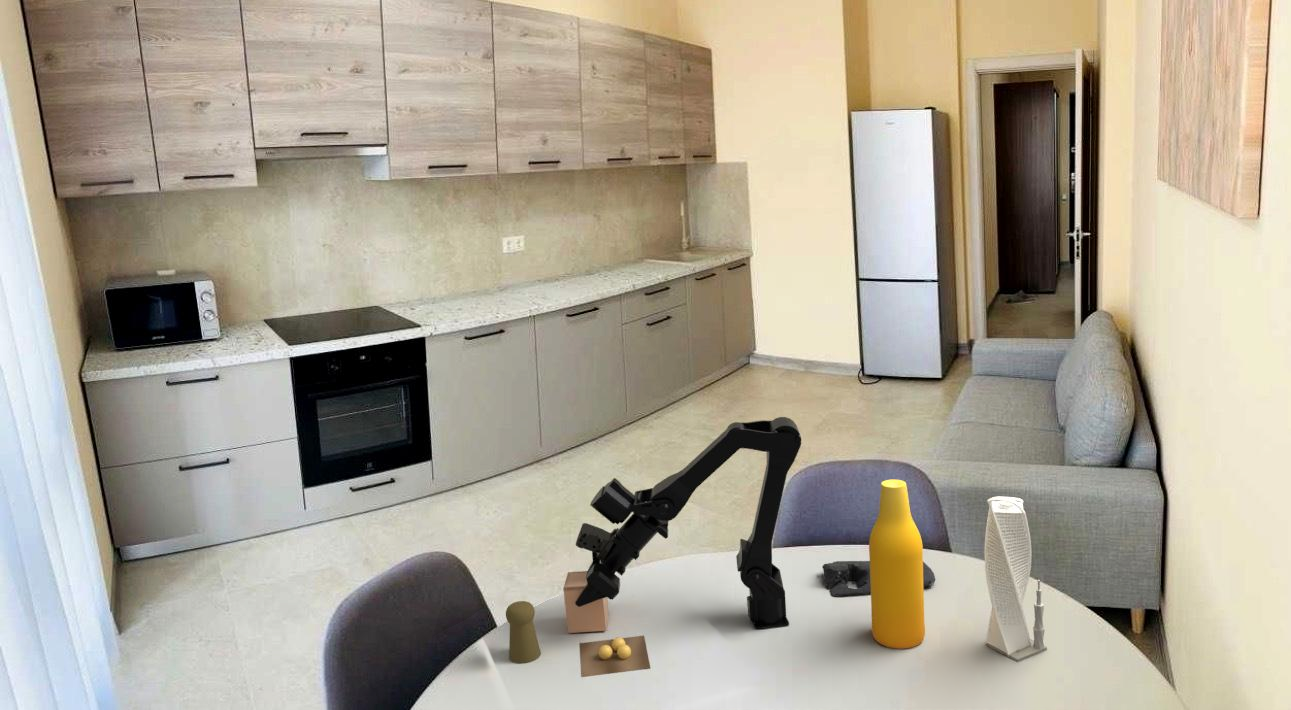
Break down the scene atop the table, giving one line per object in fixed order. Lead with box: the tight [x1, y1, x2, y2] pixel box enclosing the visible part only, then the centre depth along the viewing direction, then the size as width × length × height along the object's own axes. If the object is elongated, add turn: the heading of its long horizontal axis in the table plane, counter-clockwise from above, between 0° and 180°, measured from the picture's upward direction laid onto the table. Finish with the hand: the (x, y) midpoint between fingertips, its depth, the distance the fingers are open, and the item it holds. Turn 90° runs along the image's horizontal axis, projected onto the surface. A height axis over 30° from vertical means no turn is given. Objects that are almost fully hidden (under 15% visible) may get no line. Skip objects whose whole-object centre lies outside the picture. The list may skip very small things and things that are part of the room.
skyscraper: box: [984, 496, 1048, 663], centre depth 163 cm, size 8×8×28 cm
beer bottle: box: [868, 479, 926, 650], centre depth 169 cm, size 9×9×29 cm
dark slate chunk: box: [822, 560, 936, 597], centre depth 195 cm, size 15×22×5 cm
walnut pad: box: [579, 635, 651, 678], centre depth 172 cm, size 12×12×1 cm
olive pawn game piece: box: [505, 600, 542, 665], centre depth 173 cm, size 6×6×11 cm
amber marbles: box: [599, 637, 631, 660], centre depth 171 cm, size 6×6×2 cm
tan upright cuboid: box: [563, 570, 610, 634], centre depth 183 cm, size 7×7×9 cm
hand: (579, 596), depth 183 cm, fingers closed on tan upright cuboid, 7 cm apart
